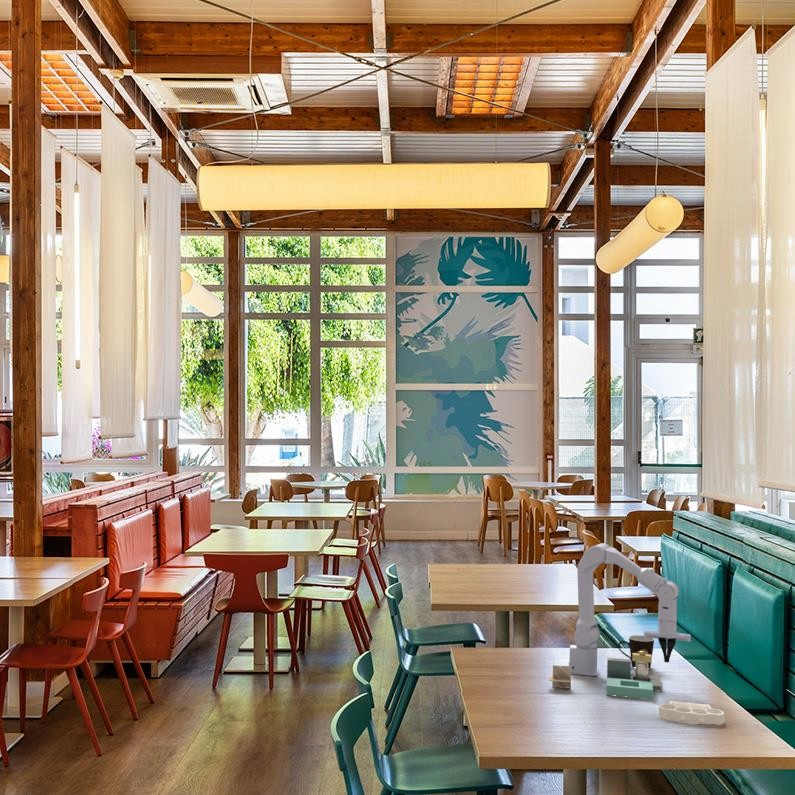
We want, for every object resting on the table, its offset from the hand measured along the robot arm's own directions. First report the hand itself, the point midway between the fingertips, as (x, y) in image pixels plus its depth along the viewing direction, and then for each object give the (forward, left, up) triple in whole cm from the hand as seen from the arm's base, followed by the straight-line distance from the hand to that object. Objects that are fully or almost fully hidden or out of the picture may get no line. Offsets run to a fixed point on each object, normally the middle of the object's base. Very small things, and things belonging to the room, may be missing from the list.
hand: (666, 661), depth 290 cm
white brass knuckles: (+5, -30, -9) cm, 32 cm away
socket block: (-10, 0, -8) cm, 13 cm away
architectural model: (-33, -13, -9) cm, 36 cm away
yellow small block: (-8, 0, 0) cm, 8 cm away
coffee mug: (-9, +22, -8) cm, 25 cm away
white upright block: (-8, 0, -8) cm, 11 cm away
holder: (-12, -12, -8) cm, 18 cm away
